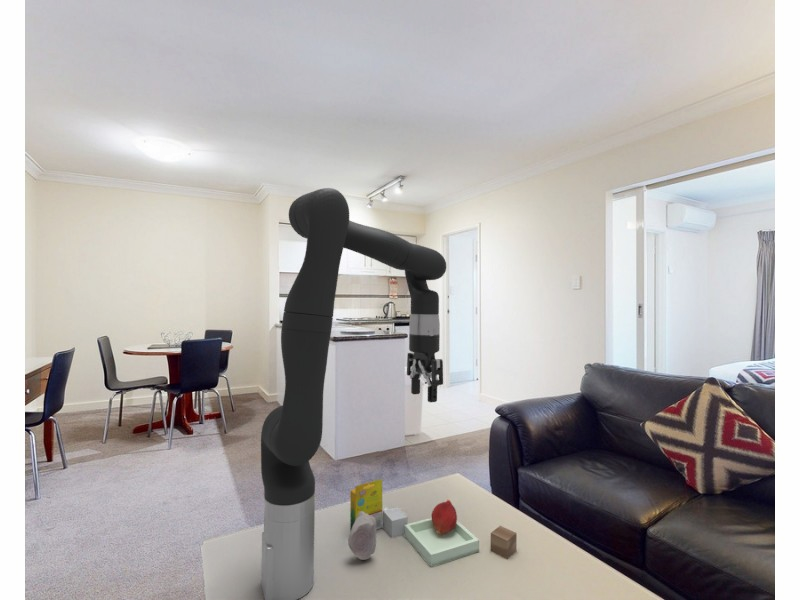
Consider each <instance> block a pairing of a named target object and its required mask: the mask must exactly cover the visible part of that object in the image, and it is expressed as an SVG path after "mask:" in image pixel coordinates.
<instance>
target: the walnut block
mask: <svg viewBox="0 0 800 600" xmlns="http://www.w3.org/2000/svg"><path fill="white" fill-rule="evenodd" d="M517 541H518V540H517V532H515V531H514V530H511V529H509V528H506V527H504V526H503V525H498V526H497V527H496V528H495V529H494V530H492V531H491V532H490V548H489V549H490V553H491V552H492V553H493V554H496V555H497V556H499V557H501V558H504V559H506V560H509V559H510V558H511V557H512V556H513V555H514V554H515V553H516V552H517Z"/></svg>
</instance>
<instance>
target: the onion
mask: <svg viewBox="0 0 800 600" xmlns="http://www.w3.org/2000/svg"><path fill="white" fill-rule="evenodd" d="M430 515H431V517H430V518H432V522H433V525H434V527H435V529H436V531H437V533H439V534H441V533H446V532H449V531H451V530H452V529H453V528H454V527H455V525H456V522H457V521H458V515H457V510H456V508H455V507H454V505H453V504H452V501H451V500H450V499H446V501H443V502H440V503H438V504H436V506H435V507H434V508H433V509H432V512H431V514H430Z"/></svg>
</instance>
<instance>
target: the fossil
mask: <svg viewBox="0 0 800 600" xmlns="http://www.w3.org/2000/svg"><path fill="white" fill-rule="evenodd" d="M347 544H348V548H349V549H350V552H351V553H352V554H353V555H354V556H355V557H356V558H357V559H359V560H363V561H364V560H365V561H366V560H368V559H370V558H371V556H372V555H374V554H375V552H376V548H377V529H376V520H375V518H374V517H371V516H369V515H368V514H365V513H364V512H363V511H361V512H359V514H358V515H357V519H356V521H355V523H354V524H353V527H352V529H351V531H350V533H349V535H348V543H347Z"/></svg>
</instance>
